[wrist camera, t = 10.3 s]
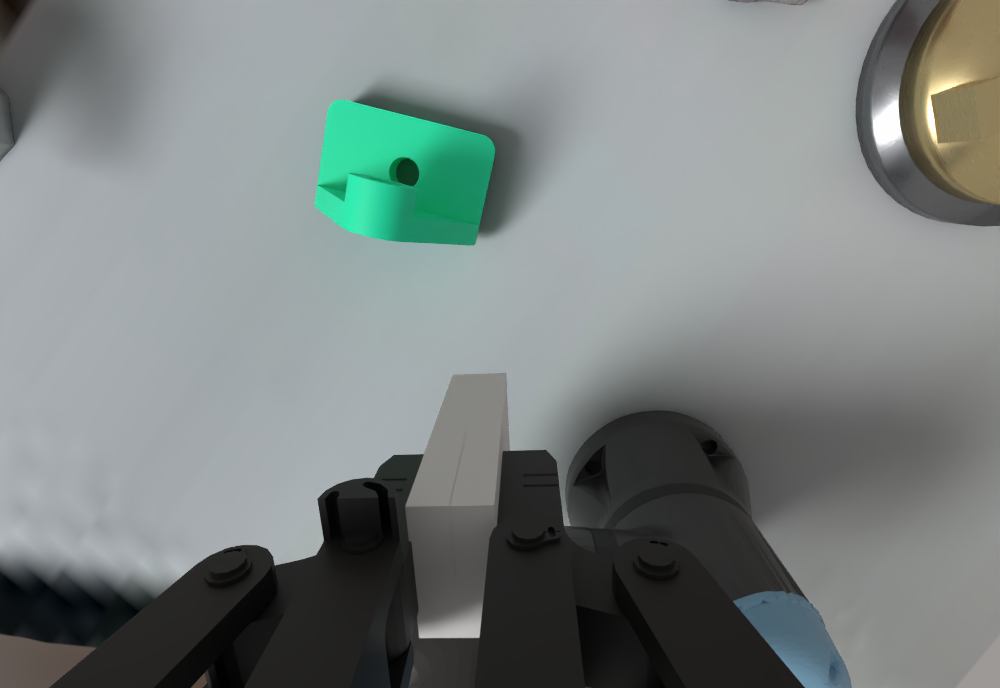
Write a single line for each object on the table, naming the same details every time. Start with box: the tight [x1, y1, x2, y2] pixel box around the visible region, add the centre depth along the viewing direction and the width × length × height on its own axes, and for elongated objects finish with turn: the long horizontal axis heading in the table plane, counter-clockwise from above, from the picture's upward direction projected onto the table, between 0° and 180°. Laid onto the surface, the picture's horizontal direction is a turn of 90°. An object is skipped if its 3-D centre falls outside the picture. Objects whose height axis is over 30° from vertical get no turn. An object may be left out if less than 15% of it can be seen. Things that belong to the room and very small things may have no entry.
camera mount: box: [315, 100, 496, 245], centre depth 38 cm, size 12×8×10 cm, turn 77°
